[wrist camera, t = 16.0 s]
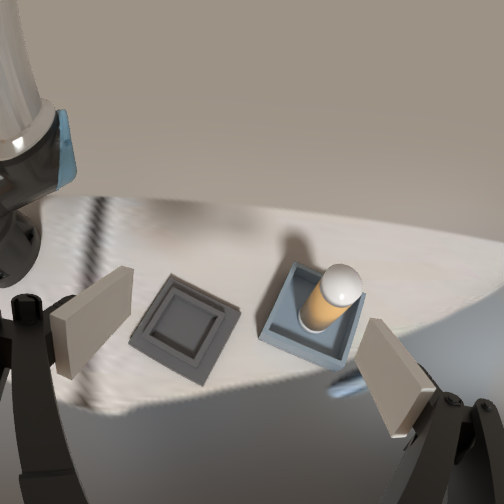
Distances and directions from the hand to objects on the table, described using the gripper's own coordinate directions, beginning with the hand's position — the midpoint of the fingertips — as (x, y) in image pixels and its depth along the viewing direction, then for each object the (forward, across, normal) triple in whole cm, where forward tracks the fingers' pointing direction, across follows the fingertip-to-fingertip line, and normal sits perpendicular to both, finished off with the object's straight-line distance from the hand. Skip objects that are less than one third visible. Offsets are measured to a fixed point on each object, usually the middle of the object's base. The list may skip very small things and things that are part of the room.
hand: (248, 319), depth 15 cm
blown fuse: (+26, +11, -10) cm, 30 cm away
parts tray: (+27, +11, -11) cm, 31 cm away
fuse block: (+23, -7, -15) cm, 28 cm away
